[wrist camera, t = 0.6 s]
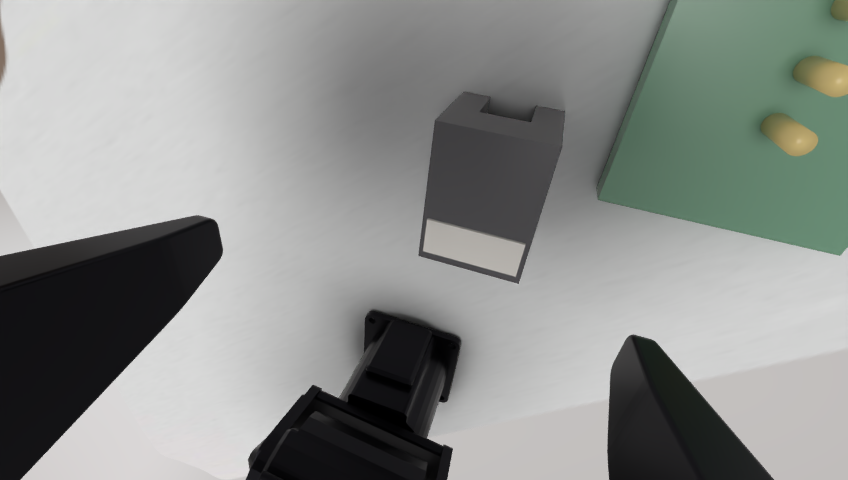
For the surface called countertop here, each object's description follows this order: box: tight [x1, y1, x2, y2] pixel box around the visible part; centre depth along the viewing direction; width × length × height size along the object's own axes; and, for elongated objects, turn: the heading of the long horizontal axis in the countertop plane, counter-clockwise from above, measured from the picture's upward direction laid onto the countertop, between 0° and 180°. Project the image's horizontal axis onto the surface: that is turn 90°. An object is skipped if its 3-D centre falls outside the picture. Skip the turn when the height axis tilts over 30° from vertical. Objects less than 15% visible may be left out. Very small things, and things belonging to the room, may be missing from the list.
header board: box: [597, 0, 848, 256], centre depth 13 cm, size 12×9×3 cm
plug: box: [419, 92, 565, 284], centre depth 17 cm, size 6×4×5 cm
